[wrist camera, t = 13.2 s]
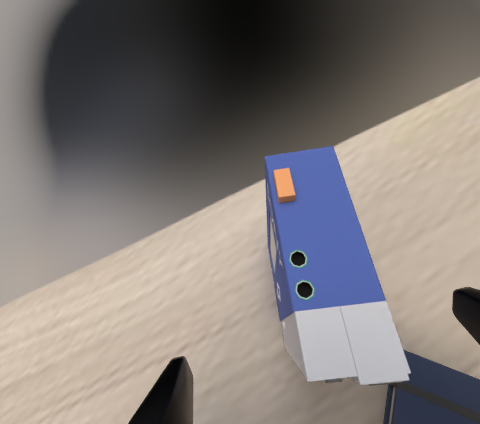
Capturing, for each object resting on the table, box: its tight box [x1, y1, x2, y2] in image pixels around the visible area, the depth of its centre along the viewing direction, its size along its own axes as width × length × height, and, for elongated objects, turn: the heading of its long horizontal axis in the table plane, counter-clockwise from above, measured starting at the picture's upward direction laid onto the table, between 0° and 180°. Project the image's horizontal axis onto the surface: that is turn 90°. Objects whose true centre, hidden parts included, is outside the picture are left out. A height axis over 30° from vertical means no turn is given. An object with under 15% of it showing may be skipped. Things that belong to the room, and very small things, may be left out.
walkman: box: [265, 146, 411, 385], centre depth 13 cm, size 8×3×12 cm, turn 6°
